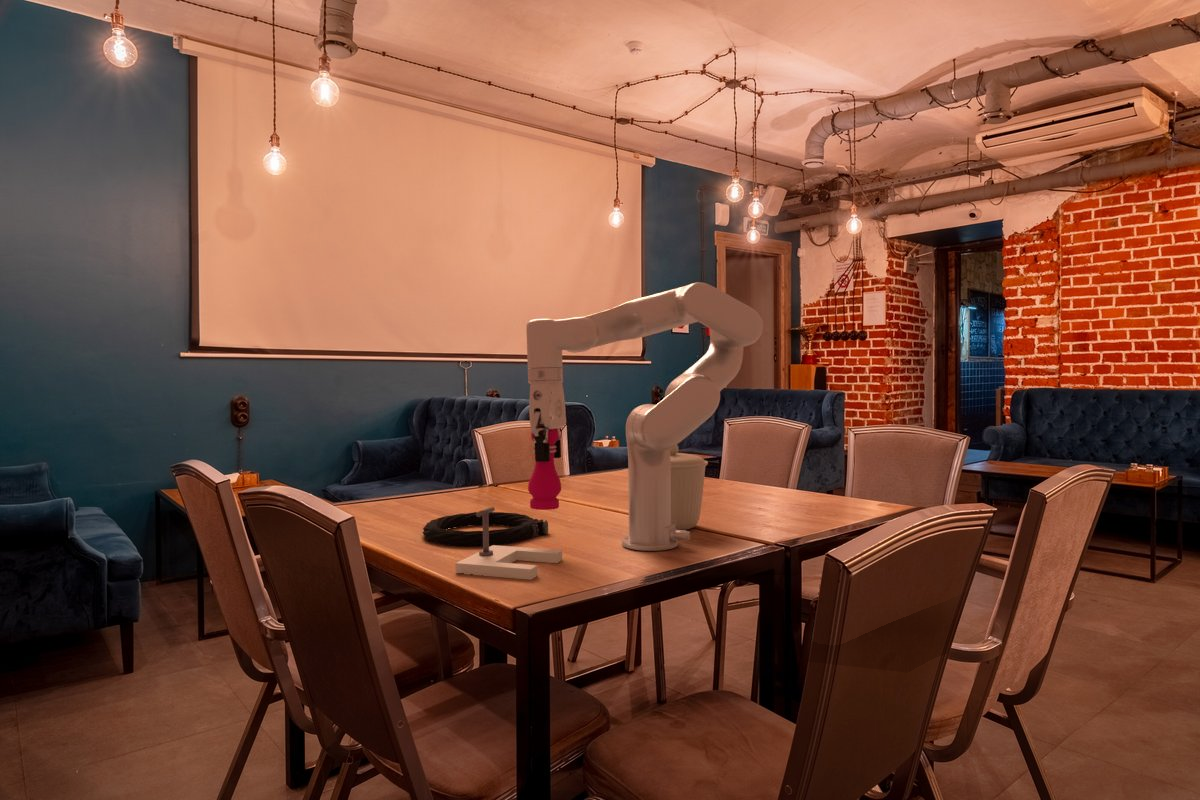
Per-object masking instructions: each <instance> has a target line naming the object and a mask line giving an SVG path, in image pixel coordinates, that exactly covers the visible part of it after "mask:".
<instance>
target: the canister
mask: <svg viewBox="0 0 1200 800" xmlns="http://www.w3.org/2000/svg"><path fill="white" fill-rule="evenodd" d="M669 451H670V459H671V524H675V529H677V530H690V529H693V528H694V527H696V526H697V525H698V523H699V520H700V517H701V510H702V501H703V496H704V495H703V494H704V484H705V476H706V475H705V472H706V466H708V464H709V462H708V460H705V459H704V458H703V457H702V456H699V455H696V454H691V453H690V454H688V453H679V446H678V444H677V445H675V446H674V447H672V448H670V449H669Z"/></svg>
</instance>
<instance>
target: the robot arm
mask: <svg viewBox="0 0 1200 800" xmlns="http://www.w3.org/2000/svg"><path fill="white" fill-rule="evenodd" d="M695 323H700V324H702V325H703V326H705V327H706V328H708V329H709V338H710V339H709V345H708V349H707V351H706V353H705V354H704V355H703V356H702V357H701V358H700V359H699V360H697V361H696V362H695V363H693V365H691V366H690V367H689V368H688V369H686V370H684V372H683V373H682V374H680V375H679V376H677V377H676V378H674V379H673V380H671V382H670V383H669V384H668V386H667V387H666V389H665V392H664V398H663V399H662V400H660V401H659V402H658V403H657V404H652V403H645V404H644V403H643V404H642V405H639V406H637V407H635V408H634V409H632V411H630V414H629V415H628V417H627V418H626V423H625V438H626V440H625V441H626V447H627V460H628V462H627V463H628V464H627V465H628V474H627V476H628V477H627V478H628V480H627V481H628V482H627V483H628V485H627V487H628V488H627V489H628V536H626V537H623V538H622V539H621V545H622V546H623V548H626V549H630V550H636V551H645V552H648V551H650V552H651V551H653V552H654V551H656V552H657V551H667V550H672V549H676V548H677V547H679V546H678V545H679V540H681V541H690V539H691V532H690V531H687V530H688V529H686V530H677V529H675V524H671V459H670V451H669V449H670V448H672V447H674V446H675V445H677V446H678V444H679V443H681V442H682V441H683V440H685V439H686V438H687V437H688V436H689V435H690V434H692V433H693V432H694V431H695V430H696V429H698V428H699V427H700V426H701V425H703V424H704V423H705V422H706V421H707V420H708V419H710V417H711V416H713V414H714V413H716V410H717V409H718V407H719V404H720V401H721V392H722V390H723V389H724V388H725V387H726V386H728V385H729V384H730V383H731V382H732V381H733V380H734V379H735V378H736V376H737V375H738V374H739V372H740V369H741V367H742V364H743V359H744V358H743V357H744V347H748V346H750V345H753V344H754V343H756V342H758V340H759V339H760V337H761V336H762V334H763V330H764V323H763V319H762V317H761V316H760V314H759V313H758V312H757V311H756V310H755V309H754V308H752V307H751V306H749V305H747V304H745V303H744V302H742V301H740V300H738V299H737V298H734V297H733V296H731V295H729V294H728V293H726V292H724V291H722V290H720V289H718V288H717V287H714V285H713V286H712V285H711V284H708V283H705V282H699V281H697V282H693V283H689V284H687V285H684V286H680V287H676V288H673V289H669V290H666V291H662V292H658V293H654V294H651V295H646V296H643V297H639V298H635V299H633V300H629V301H626V302H624V303H621V304H620V305H617V306H615V307H612V308H610V309H606V310H603V311H600V312H595V313H592V314H589V315H585V316H577V317H576V316H575V317H569V318H562V319H556V318H534V319H530V320H529V321H528V322H527V324H526V329H525V330H526V355H527V356H526V359H527V379H528V381H527V382H528V384H530V386H529V402H528V403H529V407H528V408H529V410H528V411H529V412H528V413H529V415H528V416H529V425H530V428H529V429H530V431H531V432H532V433H533V437H534V442H533V443H534V445H535V452H534V461H535V462H548V461H550V447H549V443H547V442H548V432H549V429H556V428H557V429H558V433H559V438H558V440H557V441H556V443H555V446H556V452H555V453H554V459H560V458H562V446H561V444H562V443H561V440H562V434H561V431H562V428H563V427H565V426H566V424H567V415H566V414H567V413H566V402H565V393H564V386H563V383H564V371H563V370H564V369H563V351H566V352H569V353H573V354H575V353H584V352H587V351H590V350H591V349H594V348H597V347H601V346H604V345H608V344H612V343H616V342H617V343H618V342H621V341H628V340H636V339H640V338H645V337H648V336H652V335H654V334H655V335H656V334H658V333H663V332H666V331H669V330H673V329H677V328H680V327H684V326H688V325H691V324H695ZM539 426H545V428H539ZM542 432H544V435H543V433H542Z"/></svg>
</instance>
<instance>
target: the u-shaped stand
mask: <svg viewBox="0 0 1200 800" xmlns="http://www.w3.org/2000/svg"><path fill="white" fill-rule="evenodd" d="M476 512H477V513H476V516H477V517H480V516H482V515H483V525H482V531H483V546H482V550H480V551H478V552H476V553H474V554H472V555H470V556H467V557H465V558H464V559H461V560H458V561H457V562H455V574H458V573H464V574H463V575H470V574H473V575H472V576H480V577H481V576H482V575H483V577H494V578H503V579H505V578H506V579H517V580H527V581H528V580H530V581H531V580H533V579H534V578H536V577H538V565H536V564H527V563H526V564H524V563H514V562H516V561H523V562H536V563H537V562H538V563H550V564H558V563H559V562H562V561H563V549H549V548H538V547H522V546H521V547H520V546H509V545H490V546H489V529H490V528H489V526H490V525H489V514H488V513H490V512H495V507H494V506H490V507H486V508H484V509H482V510H479V511H476Z"/></svg>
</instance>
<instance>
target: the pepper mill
mask: <svg viewBox="0 0 1200 800" xmlns="http://www.w3.org/2000/svg"><path fill="white" fill-rule="evenodd" d="M539 428H545V426H539ZM530 433H531V434H530V436H531V437H530V438H531V440H532V442H533V443H534V437H533V433H532V431H531V432H530ZM542 433H543V435H544V432H542ZM558 438H559V433H558V429H557V428H556V429H549V432H548V442H547V443H549V447H550V461H548V462H536V461H535V464H534V467H533V470H532V473H531V476H530V478H529V481H528V483H527V484H528V486H527V491H528V492H529V494H530V495H531V497H532V498H531V499H530V500H529V508H530V509H532V510H539V511H541V510H542V511H548V510H556V509H559V508H560V500H559V499H558V498H557V497H558V495H559V494H560V493H561V491H562V483H561V479H560V476H559V475H558V472H557V468H556V466H555V458H554V453H555V452H556V446H555V443H556V441H557V440H558ZM533 453H535V444H534V445H533Z"/></svg>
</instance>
